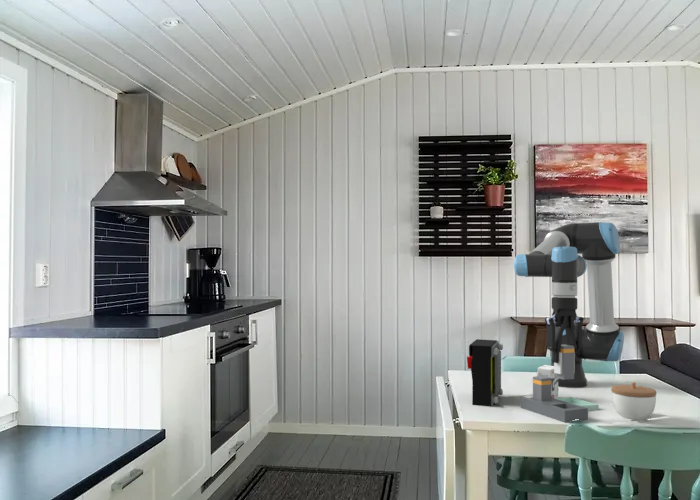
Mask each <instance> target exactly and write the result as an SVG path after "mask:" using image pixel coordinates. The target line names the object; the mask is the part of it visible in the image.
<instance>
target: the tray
mask: <svg viewBox="0 0 700 500" xmlns="http://www.w3.org/2000/svg"><path fill="white" fill-rule="evenodd" d="M557 399H558V400H561V401H565V402H568V403H571V404H575V405H578V406H582V407H585V408H588V412H589V411H596V410H600V409H599V408H600V405H599V404H598V403H594V402H590V401H587V400H583V399H580V398H578V397H573V396H568V397H558V398H557Z"/></svg>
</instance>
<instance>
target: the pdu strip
mask: <svg viewBox="0 0 700 500" xmlns="http://www.w3.org/2000/svg"><path fill="white" fill-rule="evenodd" d="M551 384H552V381H551V378H549V377H545V376H536V375H535V376H532V394H530V395H529V394H528V395H523V396H521V397H520V408H521V409H524V410H526V411H529V412H533V413H535V414H538V415H541V416H544V417H547V418H549V419H552V420H555V421H558V422H561V423H563V424H565V423H571V422H570V421H572V420H575V419H579V420H583V421H588V420H589V411H588V408H585V407H582V406H578V405H575V404H571V403H568V402H565V401H561V400H558V399H554V398H551Z"/></svg>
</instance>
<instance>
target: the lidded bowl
mask: <svg viewBox="0 0 700 500" xmlns="http://www.w3.org/2000/svg"><path fill="white" fill-rule="evenodd" d="M610 388H611V389H610V390H611V399H612V404H613V405H612V406H613V408H614V410H615V412H616V413H617V414H618V415H619V416H620V417H622V418H624V419H628V420H629V419H630V421H631V422H646V421H647V420H648V419H649V417H651V415H652V414H654V411H655V410H656V409H655V408H656V404H657V403H656V402H657V390H655V388H651V387H647V386H643V385H637V384H636V382H635V381H633V382H631V384H616V385H612V386H611V387H610Z"/></svg>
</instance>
